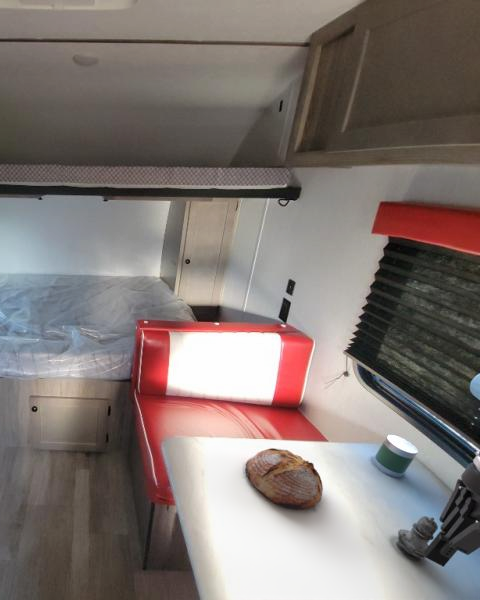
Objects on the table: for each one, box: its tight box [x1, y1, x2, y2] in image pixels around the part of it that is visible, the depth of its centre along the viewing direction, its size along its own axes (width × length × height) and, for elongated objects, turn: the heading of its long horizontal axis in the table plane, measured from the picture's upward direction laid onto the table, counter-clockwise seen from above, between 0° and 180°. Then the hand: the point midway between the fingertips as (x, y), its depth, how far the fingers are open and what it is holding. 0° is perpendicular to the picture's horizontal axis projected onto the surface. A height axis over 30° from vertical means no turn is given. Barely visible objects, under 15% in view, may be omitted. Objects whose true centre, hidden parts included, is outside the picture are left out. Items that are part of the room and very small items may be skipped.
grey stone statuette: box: [394, 515, 439, 563], centre depth 76 cm, size 6×6×12 cm
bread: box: [244, 447, 324, 510], centre depth 90 cm, size 16×20×10 cm
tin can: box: [372, 434, 419, 478], centre depth 100 cm, size 7×7×10 cm
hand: (433, 559), depth 69 cm, fingers closed
